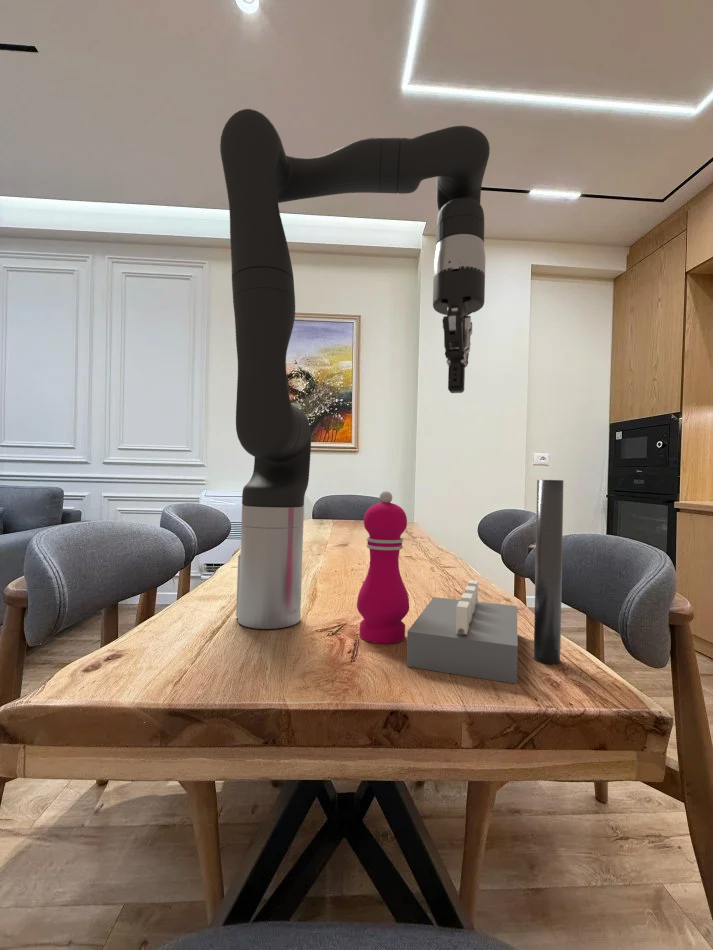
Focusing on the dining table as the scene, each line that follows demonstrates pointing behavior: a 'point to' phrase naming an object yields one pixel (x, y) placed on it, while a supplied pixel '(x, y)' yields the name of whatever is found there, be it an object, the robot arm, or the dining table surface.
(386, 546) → the pepper mill
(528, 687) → the dining table surface
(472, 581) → the breaker paddles
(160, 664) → the dining table surface
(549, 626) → the black cord post
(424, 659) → the breaker panel
